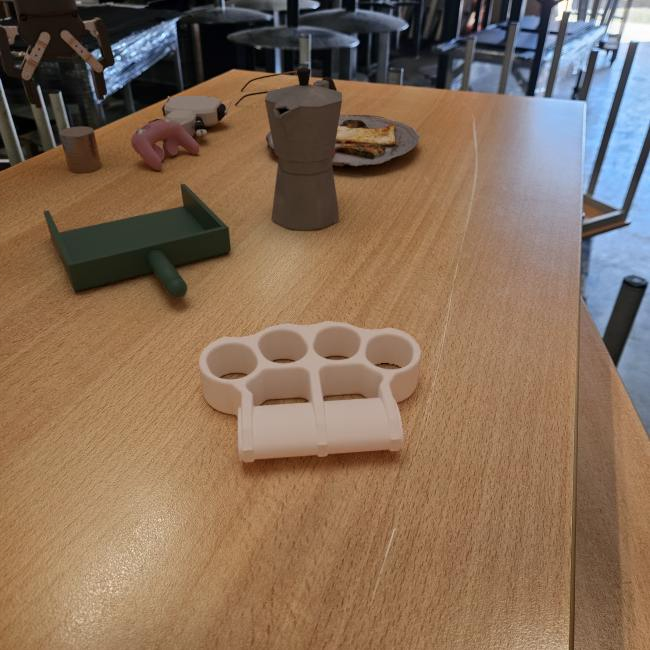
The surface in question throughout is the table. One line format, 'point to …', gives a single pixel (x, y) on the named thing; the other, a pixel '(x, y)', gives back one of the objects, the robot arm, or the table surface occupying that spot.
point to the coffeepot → (304, 152)
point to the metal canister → (80, 149)
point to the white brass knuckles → (312, 388)
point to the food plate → (368, 140)
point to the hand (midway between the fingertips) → (69, 102)
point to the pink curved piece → (171, 139)
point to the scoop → (142, 245)
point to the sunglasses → (261, 78)
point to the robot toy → (194, 112)
